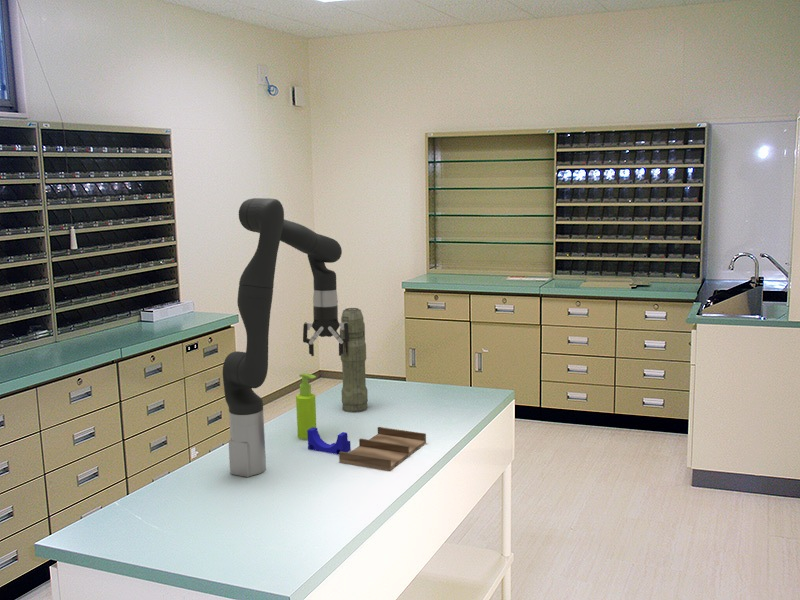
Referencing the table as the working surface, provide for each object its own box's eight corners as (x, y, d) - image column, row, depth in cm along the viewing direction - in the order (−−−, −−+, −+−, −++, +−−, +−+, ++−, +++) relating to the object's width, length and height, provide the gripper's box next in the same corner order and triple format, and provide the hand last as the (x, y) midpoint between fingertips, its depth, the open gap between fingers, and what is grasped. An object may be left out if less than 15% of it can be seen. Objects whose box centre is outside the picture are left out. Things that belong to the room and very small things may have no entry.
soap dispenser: (310, 441, 239) (307, 377, 235) (293, 437, 243) (291, 374, 240) (323, 436, 243) (320, 373, 240) (307, 432, 247) (304, 370, 244)
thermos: (334, 411, 268) (331, 311, 262) (352, 402, 278) (349, 305, 272) (357, 415, 264) (354, 312, 258) (374, 405, 274) (371, 307, 268)
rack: (389, 470, 214) (389, 460, 213) (339, 462, 221) (339, 452, 220) (426, 443, 235) (425, 433, 235) (378, 436, 242) (378, 426, 242)
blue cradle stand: (350, 450, 230) (350, 431, 229) (342, 455, 227) (341, 435, 226) (316, 444, 236) (315, 425, 235) (308, 449, 232) (307, 430, 231)
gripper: (301, 306, 237) (302, 358, 240) (348, 305, 238) (349, 357, 241) (302, 302, 245) (304, 353, 247) (348, 302, 246) (349, 352, 248)
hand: (326, 355), depth 244 cm, fingers open, 8 cm apart
